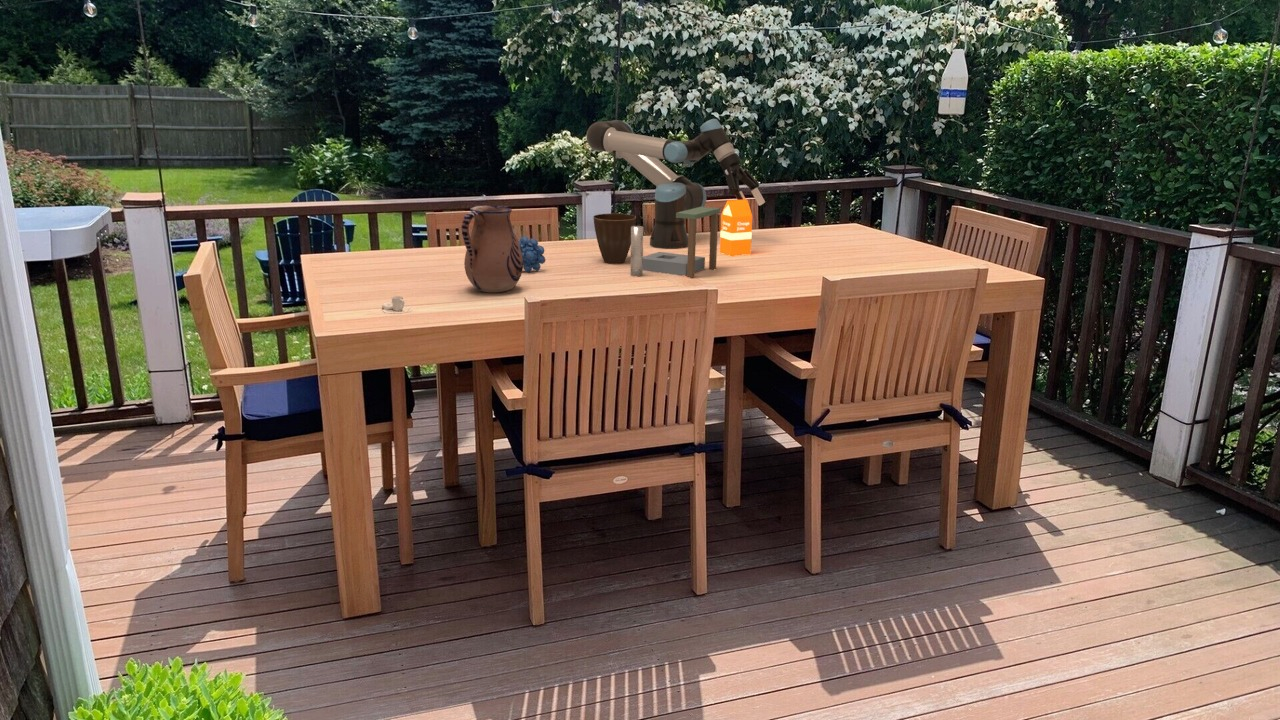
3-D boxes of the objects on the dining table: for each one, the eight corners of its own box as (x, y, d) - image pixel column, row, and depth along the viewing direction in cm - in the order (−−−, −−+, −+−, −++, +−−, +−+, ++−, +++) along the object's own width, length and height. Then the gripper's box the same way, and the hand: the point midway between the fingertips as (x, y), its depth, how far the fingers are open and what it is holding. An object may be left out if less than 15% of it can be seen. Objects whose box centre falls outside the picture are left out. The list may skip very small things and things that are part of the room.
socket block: (638, 269, 313) (638, 258, 311) (658, 263, 324) (659, 251, 323) (685, 275, 304) (685, 264, 303) (704, 268, 315) (705, 257, 314)
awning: (674, 275, 304) (676, 212, 298) (699, 266, 319) (701, 206, 312) (693, 278, 300) (695, 214, 294) (717, 269, 315) (720, 208, 309)
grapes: (514, 275, 301) (513, 239, 298) (509, 271, 307) (508, 235, 304) (548, 273, 305) (548, 237, 302) (543, 269, 311) (543, 234, 308)
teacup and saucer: (378, 309, 258) (377, 295, 257) (406, 306, 262) (405, 292, 261) (388, 316, 251) (387, 301, 250) (416, 312, 255) (415, 298, 254)
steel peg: (628, 275, 303) (628, 227, 299) (634, 273, 307) (635, 225, 302) (638, 277, 301) (639, 228, 297) (644, 274, 305) (645, 226, 300)
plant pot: (643, 264, 322) (643, 218, 317) (604, 267, 316) (604, 220, 311) (624, 256, 335) (624, 212, 330) (586, 259, 328) (586, 214, 323)
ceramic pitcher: (534, 286, 286) (532, 205, 278) (497, 301, 267) (494, 214, 260) (486, 281, 292) (483, 202, 285) (447, 295, 274) (442, 210, 267)
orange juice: (750, 254, 341) (753, 200, 335) (730, 256, 337) (732, 201, 331) (739, 251, 348) (741, 197, 342) (719, 253, 344) (721, 199, 338)
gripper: (719, 154, 338) (747, 204, 337) (749, 150, 358) (776, 197, 357) (704, 165, 342) (731, 214, 341) (735, 160, 363) (761, 207, 361)
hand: (754, 206), depth 349 cm, fingers open, 13 cm apart
